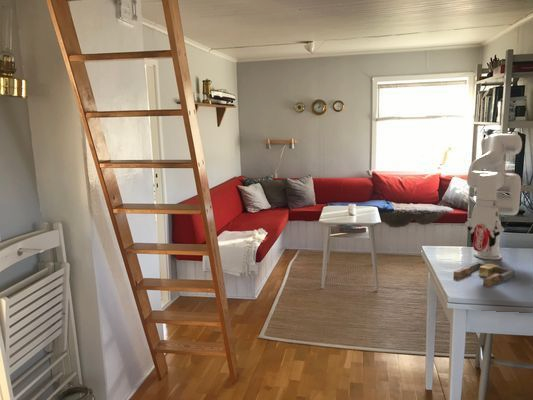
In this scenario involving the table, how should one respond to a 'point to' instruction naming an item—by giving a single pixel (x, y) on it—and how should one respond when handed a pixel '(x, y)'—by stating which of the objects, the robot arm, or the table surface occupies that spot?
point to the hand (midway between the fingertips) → (482, 243)
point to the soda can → (481, 239)
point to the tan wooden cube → (485, 271)
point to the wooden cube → (495, 269)
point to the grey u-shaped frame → (503, 271)
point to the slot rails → (486, 281)
